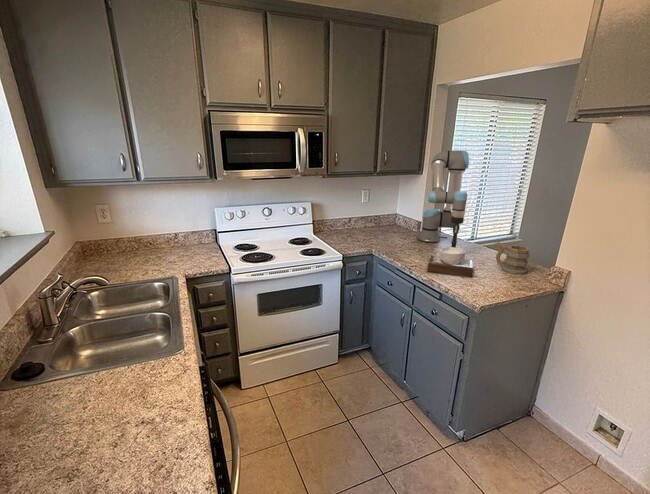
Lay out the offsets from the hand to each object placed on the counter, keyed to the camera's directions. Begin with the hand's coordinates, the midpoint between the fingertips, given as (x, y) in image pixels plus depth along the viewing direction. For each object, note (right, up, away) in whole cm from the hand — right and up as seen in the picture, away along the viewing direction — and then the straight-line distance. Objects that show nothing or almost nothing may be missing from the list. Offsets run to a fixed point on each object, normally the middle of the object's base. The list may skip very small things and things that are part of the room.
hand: (452, 252), depth 232 cm
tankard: (+27, -11, -17) cm, 34 cm away
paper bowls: (-4, -7, -6) cm, 10 cm away
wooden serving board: (-9, -12, -20) cm, 25 cm away
